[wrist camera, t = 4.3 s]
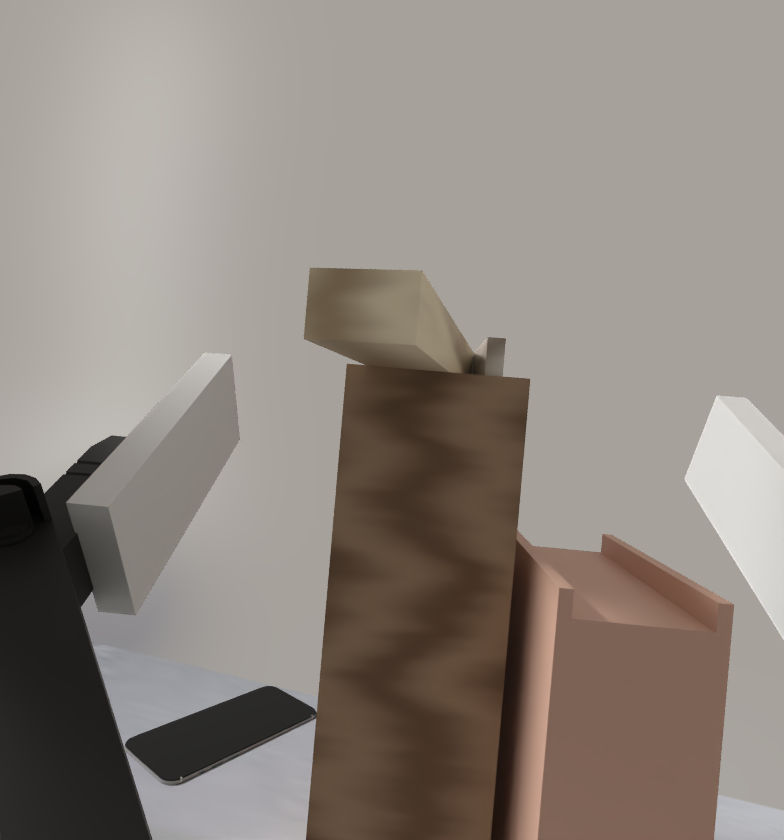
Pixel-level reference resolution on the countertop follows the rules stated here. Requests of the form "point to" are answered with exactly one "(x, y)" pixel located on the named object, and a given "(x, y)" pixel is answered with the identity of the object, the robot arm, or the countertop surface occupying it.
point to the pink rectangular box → (610, 699)
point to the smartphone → (216, 734)
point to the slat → (384, 320)
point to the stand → (418, 602)
